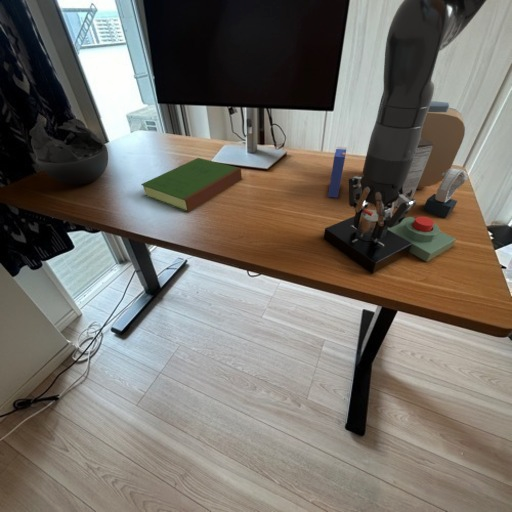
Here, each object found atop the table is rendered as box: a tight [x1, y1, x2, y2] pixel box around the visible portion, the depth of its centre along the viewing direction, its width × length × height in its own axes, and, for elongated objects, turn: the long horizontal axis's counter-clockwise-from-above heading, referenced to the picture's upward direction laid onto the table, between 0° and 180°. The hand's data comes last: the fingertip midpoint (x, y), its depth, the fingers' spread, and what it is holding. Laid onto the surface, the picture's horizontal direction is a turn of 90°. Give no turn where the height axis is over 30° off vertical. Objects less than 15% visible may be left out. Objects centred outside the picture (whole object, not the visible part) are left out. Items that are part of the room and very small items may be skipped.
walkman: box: [327, 146, 348, 199], centre depth 76 cm, size 8×3×12 cm, turn 162°
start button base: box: [388, 215, 457, 263], centre depth 59 cm, size 11×9×4 cm
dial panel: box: [322, 215, 412, 275], centre depth 58 cm, size 14×11×3 cm
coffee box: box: [394, 138, 434, 208], centre depth 70 cm, size 9×6×16 cm
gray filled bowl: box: [28, 118, 109, 186], centre depth 85 cm, size 20×20×19 cm
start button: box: [413, 216, 435, 232], centre depth 57 cm, size 4×4×2 cm
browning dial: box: [356, 209, 378, 241], centre depth 56 cm, size 4×4×5 cm
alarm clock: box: [416, 100, 466, 190], centre depth 76 cm, size 21×10×22 cm, turn 63°
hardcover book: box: [140, 157, 243, 213], centre depth 84 cm, size 25×19×4 cm
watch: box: [422, 167, 469, 219], centre depth 66 cm, size 6×8×11 cm
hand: (367, 232), depth 57 cm, fingers closed on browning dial, 4 cm apart
